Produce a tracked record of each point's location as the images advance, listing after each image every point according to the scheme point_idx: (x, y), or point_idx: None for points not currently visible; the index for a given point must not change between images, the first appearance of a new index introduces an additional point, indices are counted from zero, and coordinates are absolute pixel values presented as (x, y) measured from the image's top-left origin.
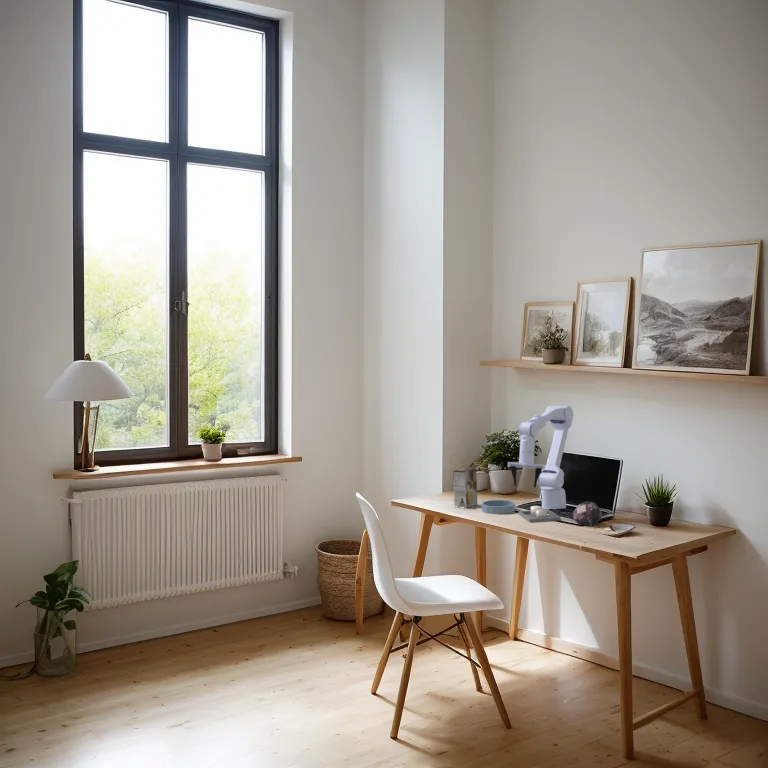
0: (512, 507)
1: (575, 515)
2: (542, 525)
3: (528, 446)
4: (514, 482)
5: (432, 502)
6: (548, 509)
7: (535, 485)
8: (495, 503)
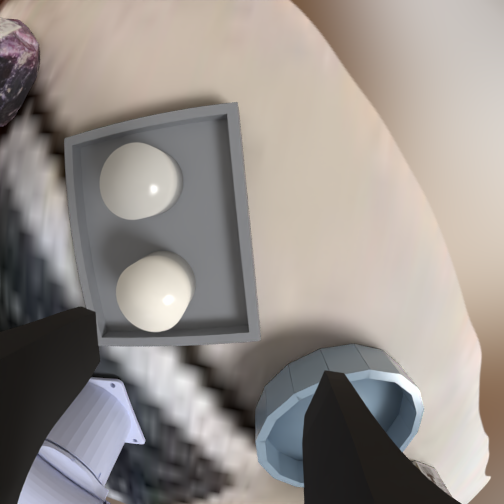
0: (284, 392)
1: (28, 37)
2: (174, 90)
3: None
4: (357, 396)
5: None
6: None
7: (67, 310)
8: None
